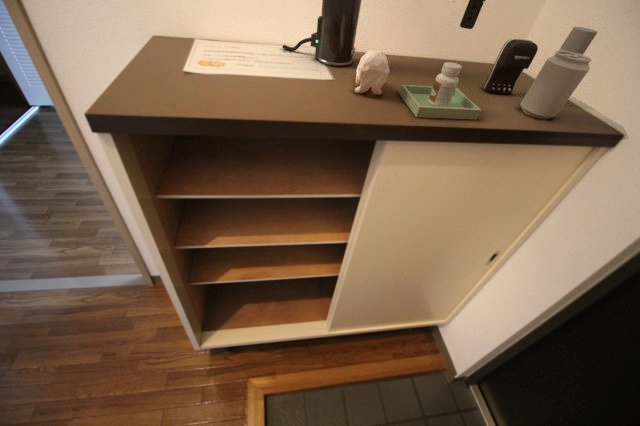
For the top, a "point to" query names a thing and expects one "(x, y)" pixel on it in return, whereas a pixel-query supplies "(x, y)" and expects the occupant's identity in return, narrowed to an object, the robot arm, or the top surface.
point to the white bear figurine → (372, 72)
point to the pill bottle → (445, 85)
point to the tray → (422, 108)
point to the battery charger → (510, 65)
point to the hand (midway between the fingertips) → (467, 23)
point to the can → (555, 84)
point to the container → (578, 40)
